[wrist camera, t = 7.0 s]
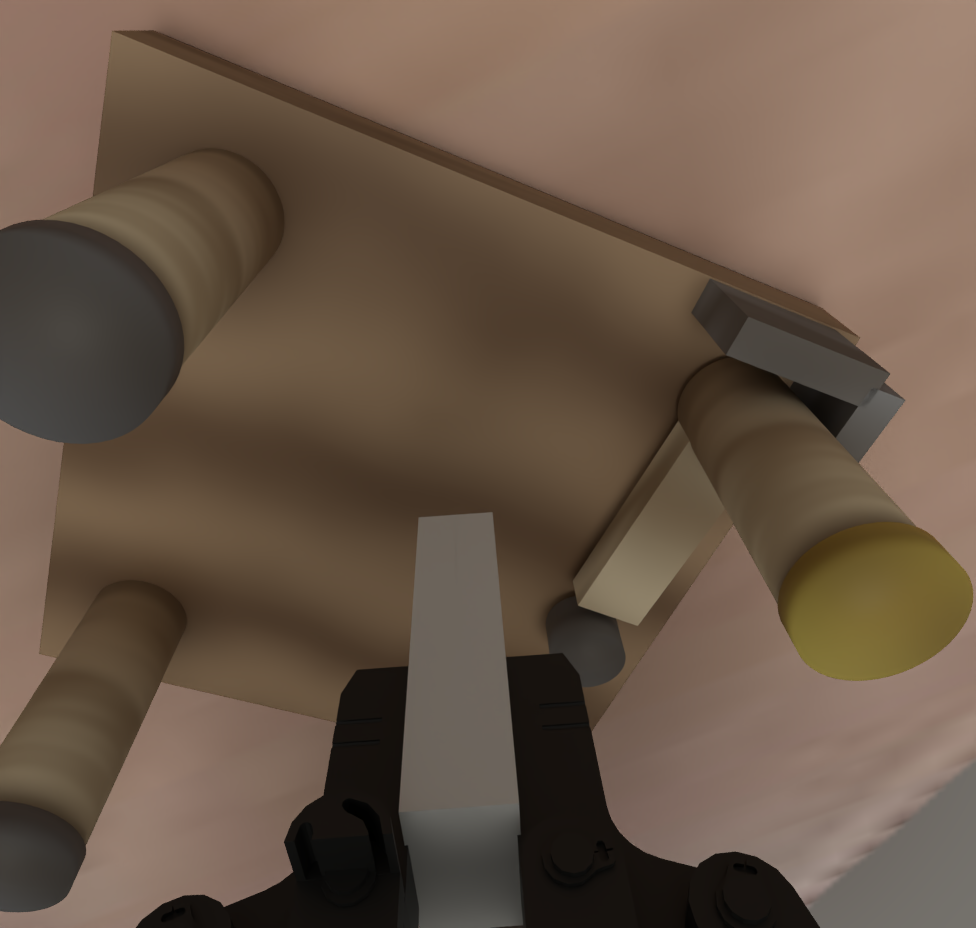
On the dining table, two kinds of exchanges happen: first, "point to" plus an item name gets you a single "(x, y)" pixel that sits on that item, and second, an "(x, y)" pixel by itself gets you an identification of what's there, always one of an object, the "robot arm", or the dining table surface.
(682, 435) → the swing leg
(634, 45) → the dining table surface
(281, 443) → the stool seat
